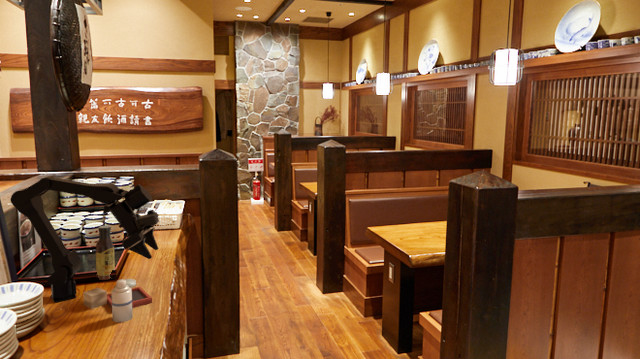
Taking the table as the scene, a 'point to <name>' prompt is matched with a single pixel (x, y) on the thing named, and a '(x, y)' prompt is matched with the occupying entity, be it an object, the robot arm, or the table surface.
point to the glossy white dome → (130, 282)
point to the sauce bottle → (104, 254)
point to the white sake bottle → (121, 302)
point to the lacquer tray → (135, 297)
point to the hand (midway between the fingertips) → (154, 253)
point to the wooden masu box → (95, 298)
